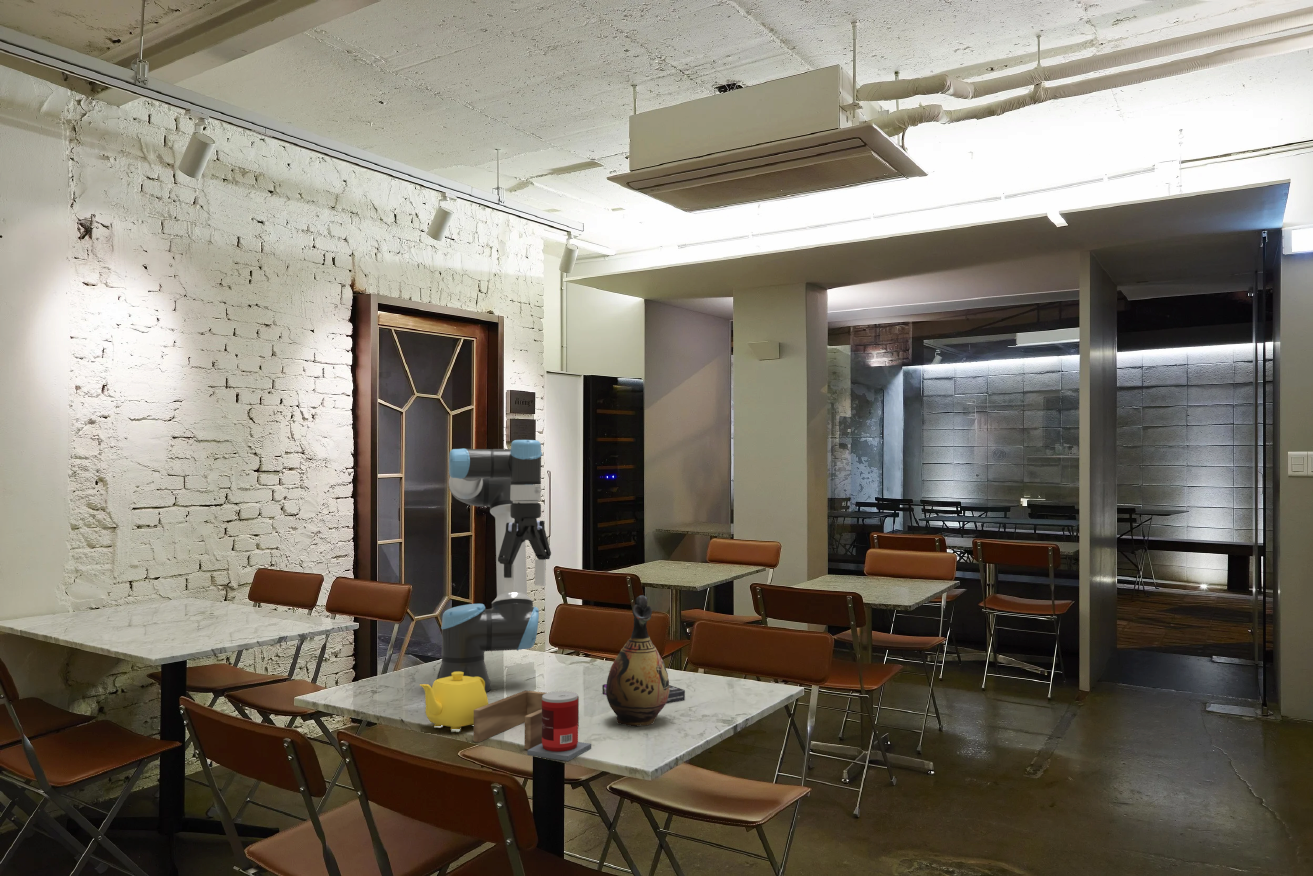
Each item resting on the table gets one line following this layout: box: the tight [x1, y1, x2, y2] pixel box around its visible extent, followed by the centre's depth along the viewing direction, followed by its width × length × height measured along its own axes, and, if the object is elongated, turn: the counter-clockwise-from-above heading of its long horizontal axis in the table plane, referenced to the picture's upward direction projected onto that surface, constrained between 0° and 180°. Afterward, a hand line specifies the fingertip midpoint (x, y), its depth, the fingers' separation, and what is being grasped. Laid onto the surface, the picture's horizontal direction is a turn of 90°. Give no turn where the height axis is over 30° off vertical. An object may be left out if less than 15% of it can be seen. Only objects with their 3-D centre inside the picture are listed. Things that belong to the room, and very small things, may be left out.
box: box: [601, 683, 686, 704], centre depth 247 cm, size 14×4×20 cm
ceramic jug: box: [605, 594, 670, 728], centre depth 224 cm, size 17×15×30 cm
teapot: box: [419, 672, 489, 730], centre depth 217 cm, size 14×20×13 cm
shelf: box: [472, 690, 580, 750], centre depth 212 cm, size 15×21×7 cm
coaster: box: [526, 741, 592, 762], centre depth 198 cm, size 10×10×1 cm
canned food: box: [542, 690, 579, 752], centre depth 198 cm, size 8×8×11 cm
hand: (525, 588), depth 226 cm, fingers open, 13 cm apart
